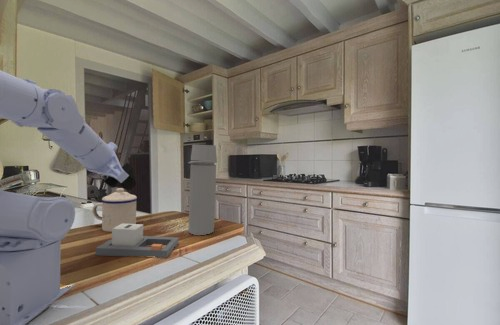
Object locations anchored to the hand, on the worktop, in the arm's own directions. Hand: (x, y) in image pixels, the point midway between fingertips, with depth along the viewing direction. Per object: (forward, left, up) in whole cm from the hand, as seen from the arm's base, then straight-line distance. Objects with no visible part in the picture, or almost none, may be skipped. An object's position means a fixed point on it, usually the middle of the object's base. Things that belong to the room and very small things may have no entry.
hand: (121, 178), depth 55 cm
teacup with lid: (+13, +9, -16) cm, 23 cm away
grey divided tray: (-2, -6, -17) cm, 18 cm away
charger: (-2, -3, -16) cm, 16 cm away
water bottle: (+12, -16, -16) cm, 26 cm away
